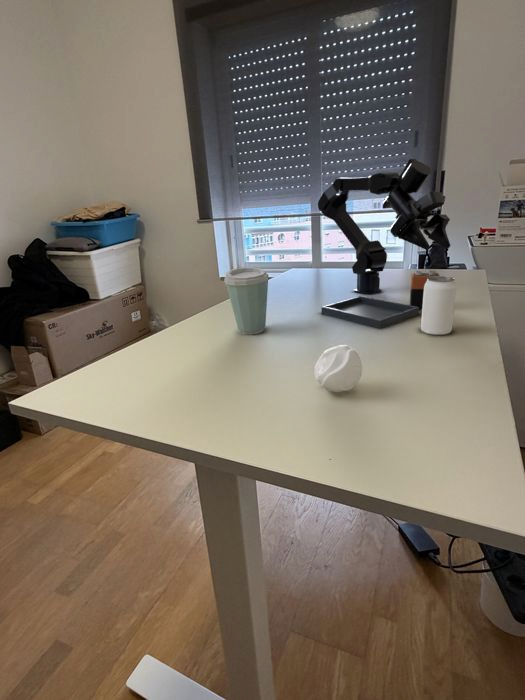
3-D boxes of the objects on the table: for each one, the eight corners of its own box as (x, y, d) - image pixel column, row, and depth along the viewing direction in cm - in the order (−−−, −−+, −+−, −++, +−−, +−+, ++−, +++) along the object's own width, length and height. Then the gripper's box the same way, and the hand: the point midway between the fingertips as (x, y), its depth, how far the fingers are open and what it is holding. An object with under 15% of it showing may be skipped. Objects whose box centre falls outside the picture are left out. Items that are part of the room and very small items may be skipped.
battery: (437, 310, 107) (440, 272, 104) (410, 309, 109) (412, 272, 106) (435, 305, 111) (439, 269, 108) (409, 305, 113) (411, 269, 109)
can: (455, 329, 92) (461, 277, 88) (445, 337, 88) (450, 282, 84) (427, 325, 96) (431, 274, 92) (415, 332, 92) (419, 280, 88)
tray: (321, 313, 111) (321, 306, 110) (359, 302, 120) (359, 295, 119) (379, 328, 96) (380, 320, 95) (418, 314, 105) (419, 307, 104)
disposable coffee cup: (280, 331, 99) (277, 269, 94) (241, 341, 94) (236, 276, 89) (258, 321, 108) (254, 265, 102) (222, 330, 103) (215, 271, 97)
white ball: (311, 381, 72) (310, 340, 69) (353, 377, 72) (354, 336, 69) (320, 402, 64) (320, 357, 62) (367, 398, 65) (369, 353, 62)
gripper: (402, 179, 100) (439, 223, 94) (446, 183, 110) (482, 223, 104) (376, 215, 109) (408, 257, 103) (418, 216, 119) (450, 255, 113)
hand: (438, 247), depth 105 cm, fingers open, 9 cm apart
